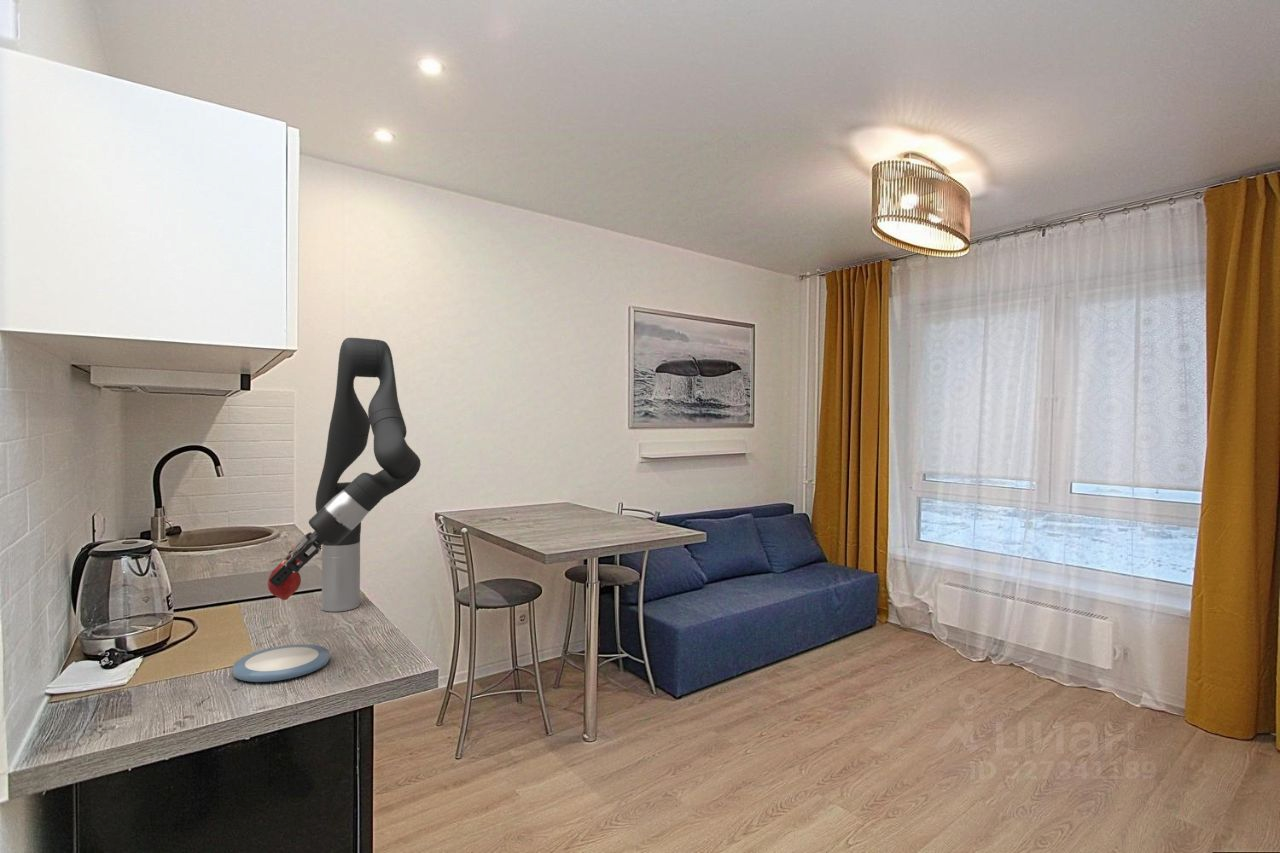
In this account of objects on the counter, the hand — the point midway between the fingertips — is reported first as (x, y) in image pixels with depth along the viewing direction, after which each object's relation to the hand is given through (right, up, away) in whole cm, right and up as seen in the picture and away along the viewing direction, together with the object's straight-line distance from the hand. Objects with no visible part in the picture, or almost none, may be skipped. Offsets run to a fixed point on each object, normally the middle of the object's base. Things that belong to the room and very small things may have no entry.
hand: (274, 579), depth 130 cm
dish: (+1, -18, +1) cm, 18 cm away
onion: (+2, -4, +1) cm, 5 cm away
